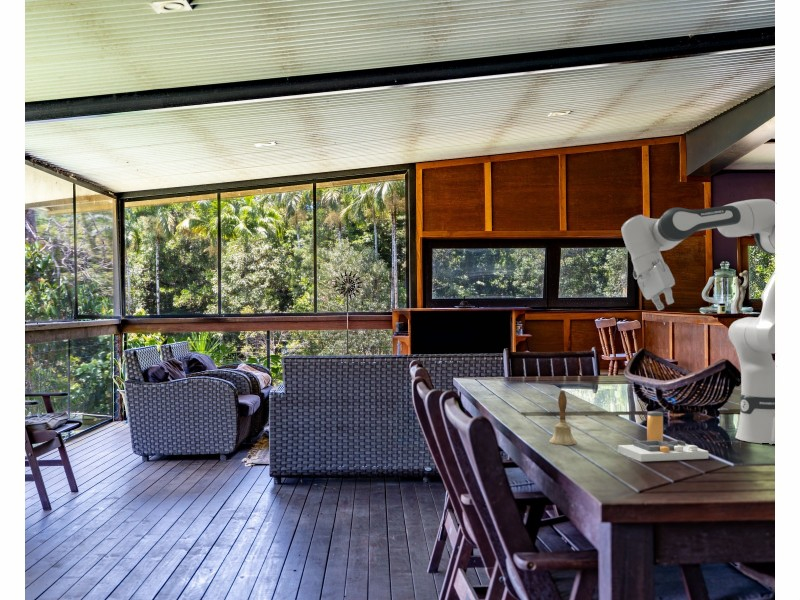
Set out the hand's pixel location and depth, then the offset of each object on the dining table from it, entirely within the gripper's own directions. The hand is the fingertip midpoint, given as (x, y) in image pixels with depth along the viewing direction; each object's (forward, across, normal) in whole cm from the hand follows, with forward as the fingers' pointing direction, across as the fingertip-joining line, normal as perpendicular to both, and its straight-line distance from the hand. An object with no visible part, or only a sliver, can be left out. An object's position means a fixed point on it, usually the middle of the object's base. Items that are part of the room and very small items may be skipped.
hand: (666, 306), depth 215 cm
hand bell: (+30, +7, +43) cm, 53 cm away
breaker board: (+40, -9, +20) cm, 46 cm away
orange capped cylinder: (+39, +5, +17) cm, 43 cm away
